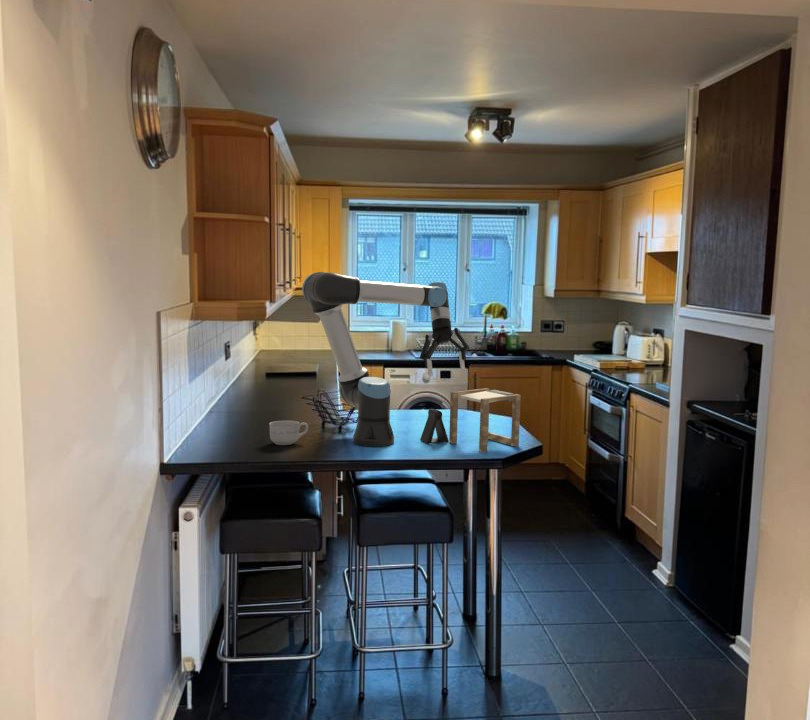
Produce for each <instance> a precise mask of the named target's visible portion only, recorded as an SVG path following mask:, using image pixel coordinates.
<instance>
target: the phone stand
mask: <svg viewBox="0 0 810 720" xmlns="http://www.w3.org/2000/svg"><path fill="white" fill-rule="evenodd" d="M444 425H445V424H444V422H443V413H442V411H440V410H438V409H435V408H434V407H433V408H429V409H428V410H427V419H426V422H425V425H424V428H423V430H422V433H421V436H420V439H419V440H420V441H422V442H423V443H425V444H427V445H430V444H429V443H433V444H441V443H440V442H445V443H449V438H448V434H447V431H446V427H445V426H444ZM435 433H436V436H437V437H434V435H435ZM433 437H434V438H433Z"/></svg>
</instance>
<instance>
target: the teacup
mask: <svg viewBox="0 0 810 720" xmlns="http://www.w3.org/2000/svg"><path fill="white" fill-rule="evenodd" d="M268 425H269V438H270V441H271V442H273V443H274V444H275V445H276V446H289V445H293V444H295V443H296V442H297V441H298V439H300V438H301V437H302V436H304V435H305V434H306V433H307V432H308V431H309V425H308V423H306V422H299V421H298V420H297V421H296V420H275V421H271V422H269V424H268ZM302 426H304V427H305V429H304V431H302V432H300V430H301V427H302Z"/></svg>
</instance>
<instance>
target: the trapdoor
mask: <svg viewBox="0 0 810 720" xmlns="http://www.w3.org/2000/svg"><path fill="white" fill-rule="evenodd" d="M508 395H514V393H513V392H507V391H502V390H498V389H490V391H483V392H477V393H472V394H466V395H459V397H460V399H462V400H467V401H471V402H476V403H479V404H481V399H482V398H492V397H500V396H508ZM501 401H502V402H509V403H510V402H513V399H509V400H501ZM495 402H497V401H493V402H489V404H490V403H495Z"/></svg>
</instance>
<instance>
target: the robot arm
mask: <svg viewBox="0 0 810 720" xmlns="http://www.w3.org/2000/svg"><path fill="white" fill-rule="evenodd" d="M301 287H302V288H301V290H302V291H301V292H302V295H303V297H304V299H305V300H306V301H307V302H308V303H309V304H310V307H311V310H312V312H313V314H314V315H316V316H318V317H319V319H320V322H321V325H322V327H323V328H322V329H323V330H324V333H325V335H326V339H327V341H328V343H329V346H330V350H331V352H332V354H333V357H334V359H335V363H336V365H337V368H338V371H339V373H340V374H339V377H338V382H339V385H340V386H339V394H340V395H339V396H340V398H341V399H342V401H344V403H345V404H347V405H348V406H350V407H354V408H355V409H357V423H356V426H355V429H354V433H353V435H352V442H353V444H354V445H357V446H363V447H371V448H372V447H373V448H374V447H375V448H376V447H378V448H379V447H387V446H391V445H393V444H395V435H394V432H393V428H392V426H391V420H390V417H391V415H390V414H391V392H392V391H391V390H392V389H391V384H390V382H389V380H387V379H385V378H382V377H377V376H370V374H369V371H368V369H367V368H366V367H365V366H362V363H361V360H360V357H359V354H358V352H357V348H356V347H355V343H354V340H353V338H352V335H351V333H350V329H349V326H348V324H347V321H346V318H345V315H344V312H343V310H342V307H343V305H357V304H359V303H372V304H373V303H377V304H378V303H379V304H389V305H390V304H391V305H392V304H393V305H409V306H421V307H429V310H430V320H431V329H432V330H431V331H432V334H430V335H429V334H426V335H425V336H424V337H425V339H424V340H425V341H424V343H423V347H422V350H421V353H420V356H419V359H420V360H422V361H424V366H425V368H426V369H427V375H428V376H429V377H434V372H433V362H432V360H431V358H432V356H433V355H434V353H435V351H436V349H437V348H438V347H439V345H444V344H448V343H449V342H450V343H451V344H452V345H453V346H455V347H456V348H457V349H458V350H460V351H458V357H459V366H460V369H462V370H465V369H466V366H465V360H467V356H466V352H467V351H468V350H470V348H471V347H470V345H468V343H467V342H466V340H465V339H464V337H463V336H462V334H461V331H460V329H459V328H457V327H454V328H453V329H452V321H451V314H450V305H449V304H450V303H449V293H448V288H447V284H446V283H445V282H442V281H434V282H431V283H429V284H428V285H421V284H407V283H398V282H397V283H396V282H384V281H370V280H360V279H359V278H358V276H357V277H356V276H349V275H343V274H340V273H339V274H338V273H335V272H323V271H317V272H314V273H310V274H309V275H308V276H306V278H305V279H304V281H303V283H302V286H301ZM453 334H454V335H455V336H456V337H457V338H458V340H459V342H460V343H461V344H462V345H461V344H459V342H457V341H456V340H455V339H453V338H452V336H453ZM431 341H432V342H431ZM431 343H432V344H431Z"/></svg>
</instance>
